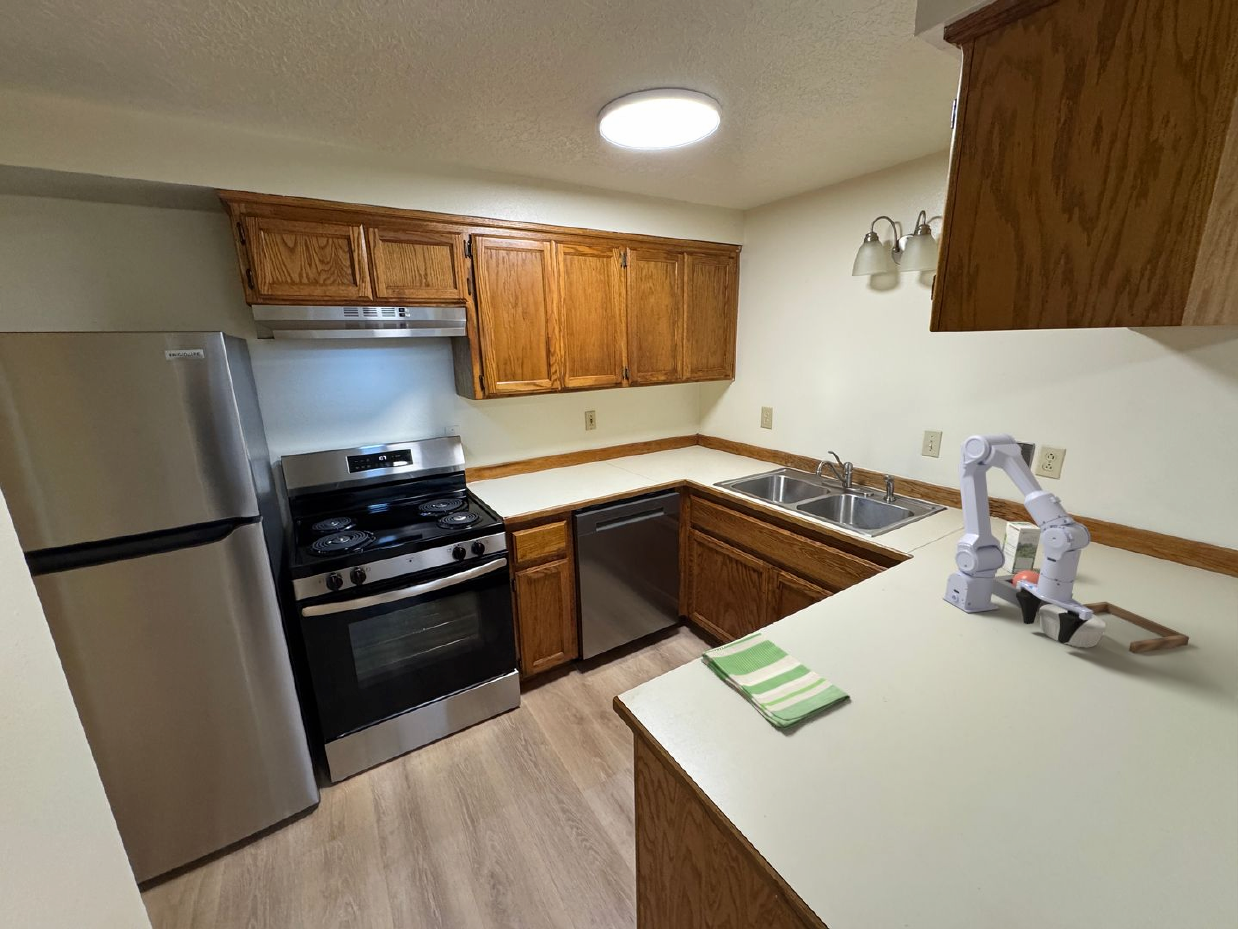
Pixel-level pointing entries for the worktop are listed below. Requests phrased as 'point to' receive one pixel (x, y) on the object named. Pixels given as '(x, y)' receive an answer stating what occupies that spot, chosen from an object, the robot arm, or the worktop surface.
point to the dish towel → (772, 680)
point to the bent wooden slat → (1169, 635)
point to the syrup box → (1020, 546)
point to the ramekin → (1084, 635)
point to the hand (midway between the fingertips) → (1045, 632)
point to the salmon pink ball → (1026, 577)
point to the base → (1010, 590)
